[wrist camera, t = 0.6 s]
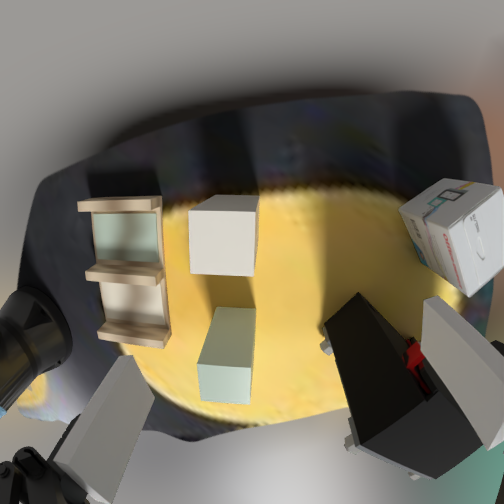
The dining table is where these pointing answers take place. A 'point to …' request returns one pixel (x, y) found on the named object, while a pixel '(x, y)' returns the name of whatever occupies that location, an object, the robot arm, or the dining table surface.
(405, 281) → the dining table surface
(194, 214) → the white tall block
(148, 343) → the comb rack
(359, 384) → the electrical component
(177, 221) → the dining table surface
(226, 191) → the dining table surface
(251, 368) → the sage plug
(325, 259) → the dining table surface
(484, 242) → the ink box
